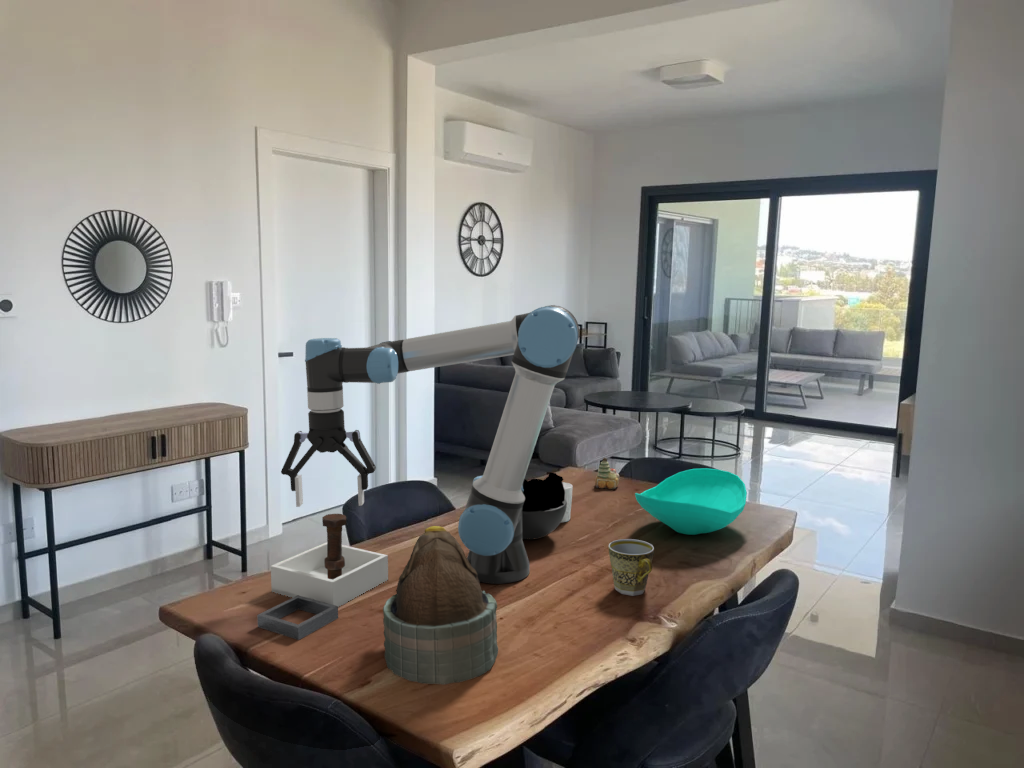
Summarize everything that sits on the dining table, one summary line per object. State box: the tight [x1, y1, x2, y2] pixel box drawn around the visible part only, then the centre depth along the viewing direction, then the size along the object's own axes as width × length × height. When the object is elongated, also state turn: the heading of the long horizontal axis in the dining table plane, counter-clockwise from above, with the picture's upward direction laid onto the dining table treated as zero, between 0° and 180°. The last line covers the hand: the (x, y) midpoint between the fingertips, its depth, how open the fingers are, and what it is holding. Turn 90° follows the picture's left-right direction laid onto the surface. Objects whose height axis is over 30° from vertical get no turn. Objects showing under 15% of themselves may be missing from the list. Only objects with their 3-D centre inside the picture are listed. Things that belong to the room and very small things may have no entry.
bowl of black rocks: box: [522, 472, 567, 540], centre depth 203 cm, size 20×20×19 cm
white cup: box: [560, 481, 573, 524], centre depth 219 cm, size 8×8×10 cm
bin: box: [270, 541, 389, 608], centre depth 171 cm, size 18×18×6 cm
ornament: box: [594, 457, 620, 490], centre depth 253 cm, size 8×6×10 cm
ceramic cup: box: [608, 538, 655, 597], centre depth 168 cm, size 13×10×10 cm
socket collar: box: [256, 595, 339, 641], centre depth 153 cm, size 11×11×2 cm
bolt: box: [322, 513, 347, 580], centre depth 170 cm, size 6×5×15 cm
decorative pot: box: [382, 525, 499, 685], centre depth 141 cm, size 23×25×22 cm
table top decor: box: [634, 467, 748, 536], centre depth 209 cm, size 40×28×13 cm
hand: (330, 504), depth 168 cm, fingers open, 13 cm apart
